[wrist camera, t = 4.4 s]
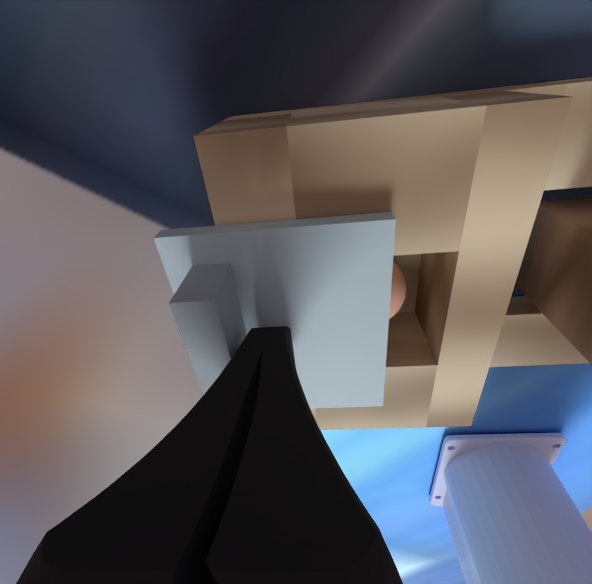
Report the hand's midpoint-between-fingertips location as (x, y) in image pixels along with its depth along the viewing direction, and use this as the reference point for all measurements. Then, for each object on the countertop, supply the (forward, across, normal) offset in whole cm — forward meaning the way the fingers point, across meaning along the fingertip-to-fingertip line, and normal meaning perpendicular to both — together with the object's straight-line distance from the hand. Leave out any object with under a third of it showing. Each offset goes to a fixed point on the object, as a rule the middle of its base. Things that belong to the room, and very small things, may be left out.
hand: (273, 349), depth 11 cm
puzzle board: (+6, -11, 0) cm, 13 cm away
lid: (+1, 0, 0) cm, 1 cm away
